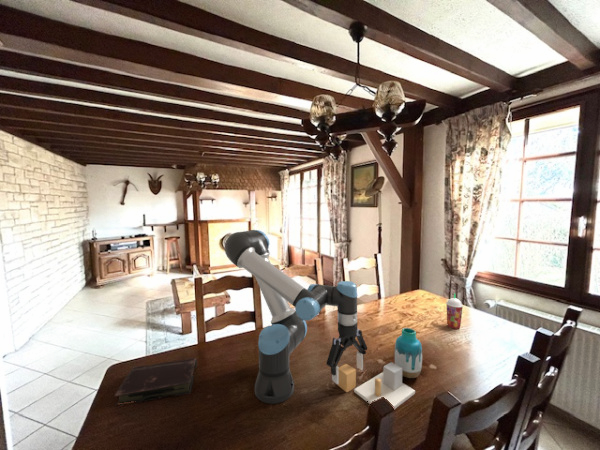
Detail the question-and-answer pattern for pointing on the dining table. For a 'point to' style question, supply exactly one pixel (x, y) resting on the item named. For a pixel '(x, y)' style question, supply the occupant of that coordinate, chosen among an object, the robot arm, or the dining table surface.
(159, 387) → the diary
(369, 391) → the plate
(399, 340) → the vase
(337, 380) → the robot arm
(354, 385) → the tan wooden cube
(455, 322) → the smoothie
